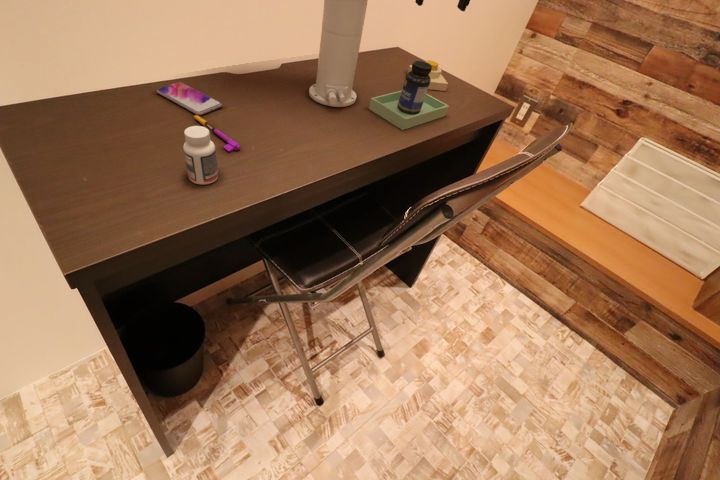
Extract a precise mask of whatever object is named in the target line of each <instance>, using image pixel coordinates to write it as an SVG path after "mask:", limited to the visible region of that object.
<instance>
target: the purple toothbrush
mask: <svg viewBox="0 0 720 480" xmlns="http://www.w3.org/2000/svg"><path fill="white" fill-rule="evenodd" d="M193 118H194V119H195V120H196V121H197V122H199V123H200V124H201V125H202V127H205V128H210V129H211V131H212V132H213V133H214V134H215V135H216V136H218V137H219V138H220V139H222V140H223V141H225V142H226V143H227V144H225V145H224V146H222V147H223V149H224V150H225V151H226V152H228V153H231V152H232V151H235V152H236V151H238V150H240V149H241V145H240V143H238V142H237V141H235V140H234V139H231V138H230V136H228V135H226V134H225V133H223V131H220V130H219V129H218V128H216V127H212V126H210V125H209V121H207V120H206V119H204V118H203V117H201V116H200V115H197V114H195V115H193Z"/></svg>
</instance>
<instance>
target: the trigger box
mask: <svg viewBox="0 0 720 480" xmlns="http://www.w3.org/2000/svg"><path fill="white" fill-rule="evenodd" d="M410 71H412V64H409V65H408V69H407V72H406V73H407V74H408V73H409V72H410ZM442 71H443V69H442V68H441V67H440V66H438V67H437V70H436V71H431V72H430V73H429V76H430V79H431V81H430V84H429V87H428V90H429V91H430V90H431V91H439V92H440V91H441V92H446V90H447V88H448V85H449V83H448V81H447V80H446V79H445V77H444V76H443V75H442Z"/></svg>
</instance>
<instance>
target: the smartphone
mask: <svg viewBox="0 0 720 480" xmlns="http://www.w3.org/2000/svg"><path fill="white" fill-rule="evenodd" d="M156 93H157V94H158V95H160V96H161V97H164V98H166V99H167V100H170V101H172V102H173V103H175V104H177V105H178V106H180V107H182V108H185V109H186V110H187V111H189V112H191V113H193V114H195V115H197V116H202V115H205V114H208V113H210V112H212V111H215V110H217V109H220V108H222V106H223V103H222V102H220V101H218V100H217V99H215V98H213V97H211V96H210V95H207V94H205V93H203V92H202V91H200V90H197V89H195V88H194V87H191V86H189V85H188V84H186V83H184V82H182V81H178V82H174V83H172V84H168V85H165V86H162V87H159V88H157V89H156Z"/></svg>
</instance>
